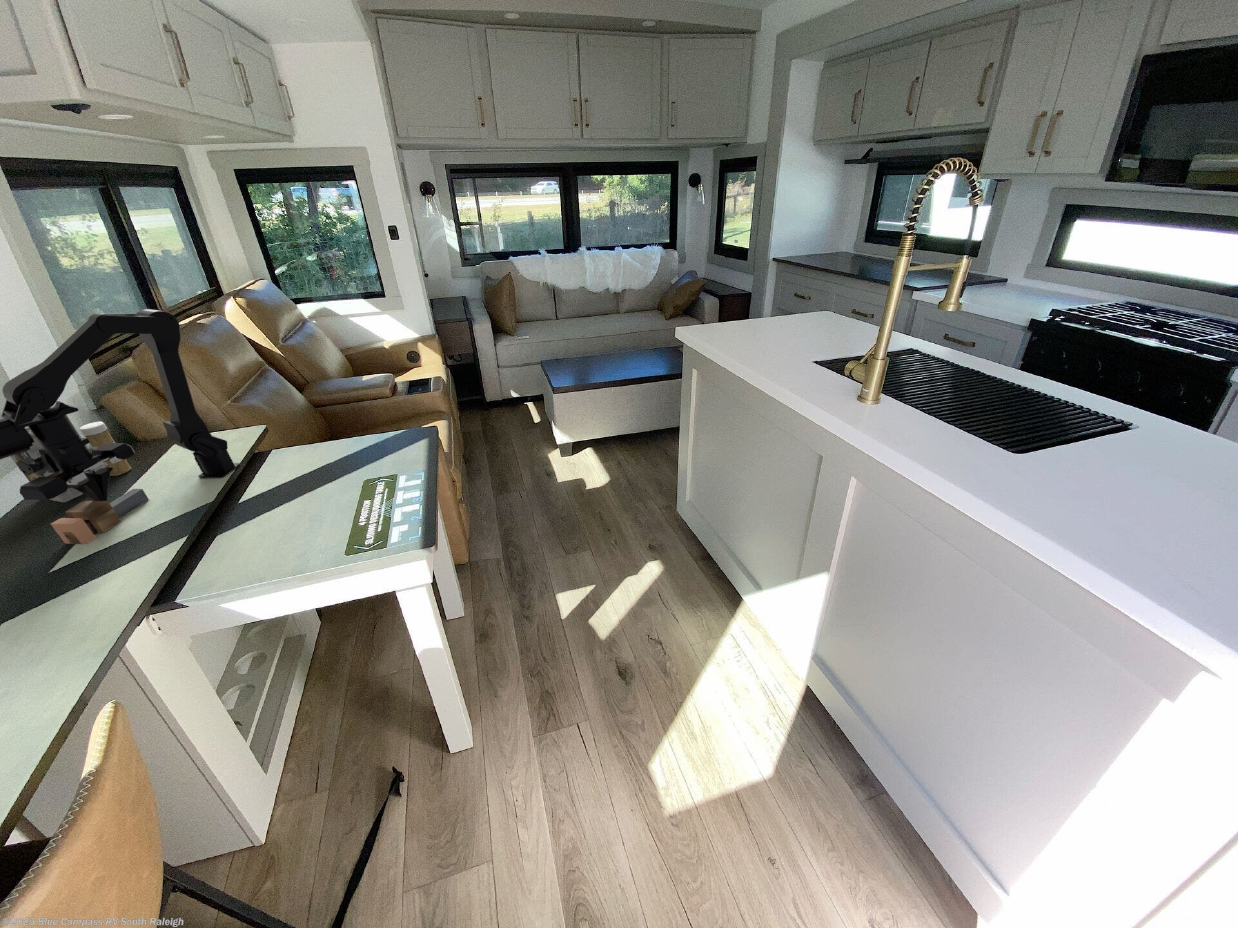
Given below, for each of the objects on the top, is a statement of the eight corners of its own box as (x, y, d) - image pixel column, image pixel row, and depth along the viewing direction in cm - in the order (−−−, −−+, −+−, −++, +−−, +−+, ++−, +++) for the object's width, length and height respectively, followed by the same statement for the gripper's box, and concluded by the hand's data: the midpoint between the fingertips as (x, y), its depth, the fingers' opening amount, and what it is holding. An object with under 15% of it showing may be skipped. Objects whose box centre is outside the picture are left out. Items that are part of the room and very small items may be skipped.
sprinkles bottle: (130, 472, 132) (101, 425, 125) (108, 478, 130) (76, 430, 123) (133, 465, 135) (104, 419, 128) (111, 471, 133) (80, 424, 126)
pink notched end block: (74, 537, 108) (60, 518, 105) (96, 537, 107) (82, 518, 105) (65, 543, 106) (50, 524, 104) (86, 543, 106) (72, 524, 103)
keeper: (97, 520, 113) (83, 500, 110) (121, 521, 112) (107, 501, 109) (79, 532, 109) (64, 511, 106) (103, 532, 108) (89, 512, 106)
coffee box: (95, 489, 125) (55, 429, 117) (63, 503, 120) (19, 442, 112) (72, 484, 128) (31, 426, 120) (40, 498, 123) (-5, 438, 115)
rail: (139, 499, 120) (132, 488, 118) (149, 499, 120) (142, 488, 118) (70, 543, 106) (62, 531, 105) (81, 543, 106) (72, 532, 104)
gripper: (71, 419, 112) (111, 480, 120) (-29, 462, 96) (24, 529, 104) (117, 419, 111) (153, 480, 119) (23, 462, 95) (72, 530, 103)
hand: (103, 503), depth 111 cm, fingers closed
